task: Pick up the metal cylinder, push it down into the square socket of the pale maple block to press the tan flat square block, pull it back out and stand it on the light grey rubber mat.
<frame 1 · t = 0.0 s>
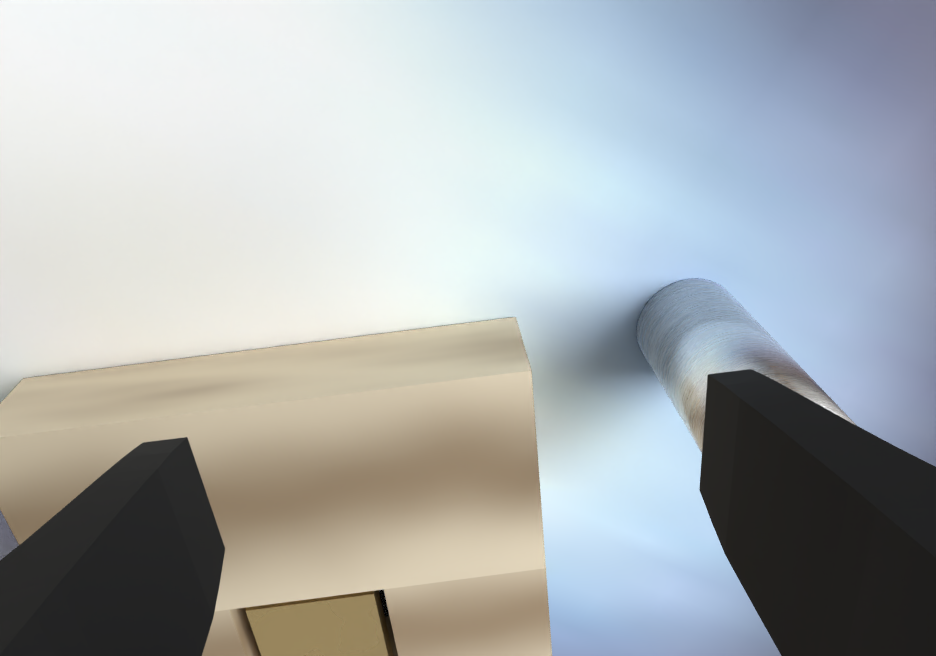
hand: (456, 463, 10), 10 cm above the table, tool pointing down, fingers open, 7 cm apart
socket block: (331, 576, 24), on the table
tan flat square block: (323, 635, 22), point 2 cm above the table, slide at 0.0 cm
metal cylinder: (687, 325, 21), on the table
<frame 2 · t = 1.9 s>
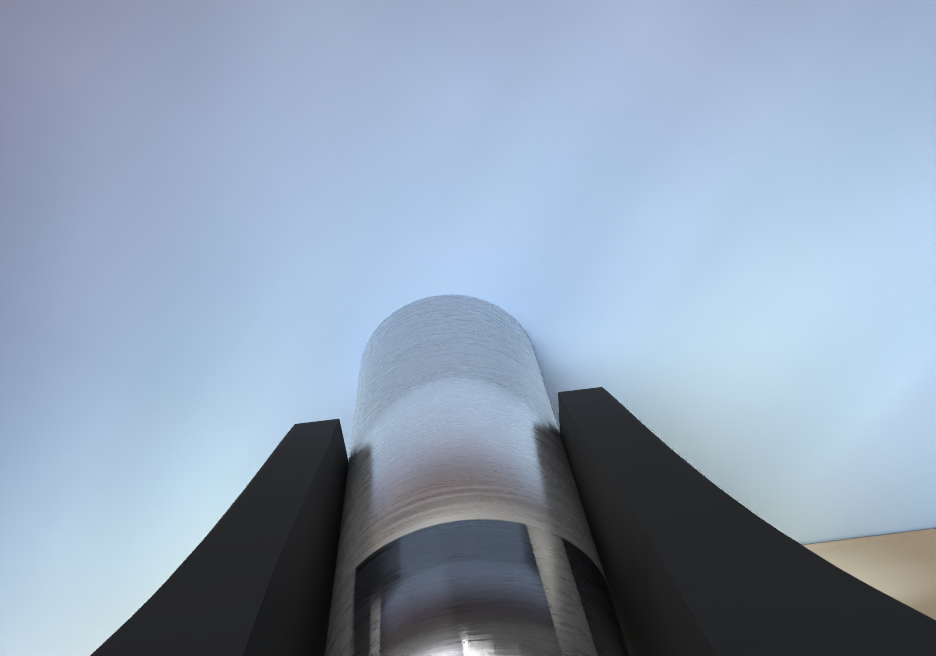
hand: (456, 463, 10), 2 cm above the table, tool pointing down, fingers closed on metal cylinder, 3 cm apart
metal cylinder: (448, 375, 12), on the table, touching gripper
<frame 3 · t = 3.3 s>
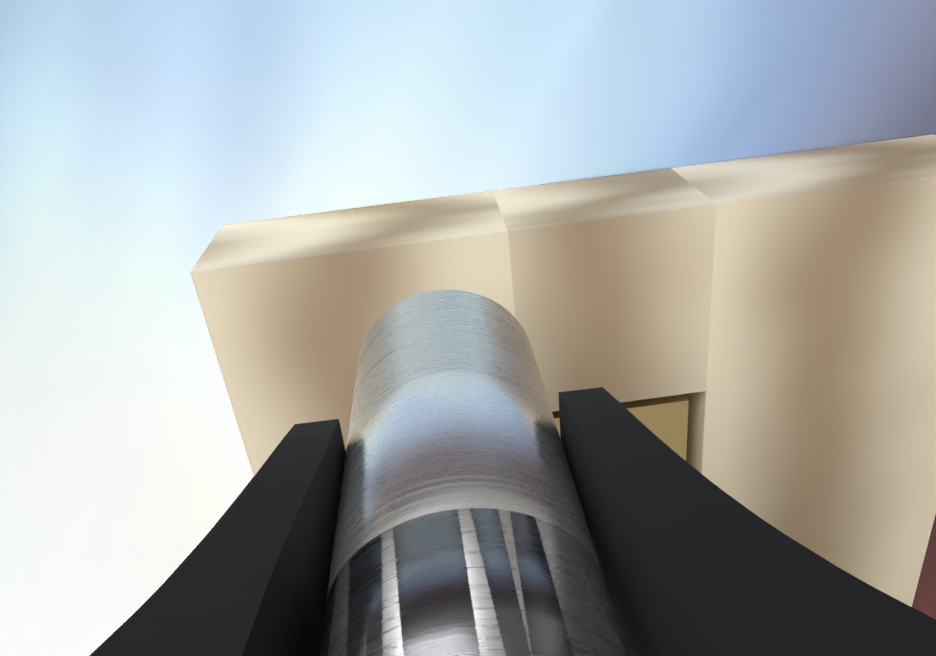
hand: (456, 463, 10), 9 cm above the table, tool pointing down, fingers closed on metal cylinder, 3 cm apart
socket block: (589, 410, 21), on the table
tan flat square block: (610, 461, 19), point 2 cm above the table, slide at 0.0 cm
metal cylinder: (446, 370, 12), point 7 cm above the table, touching gripper
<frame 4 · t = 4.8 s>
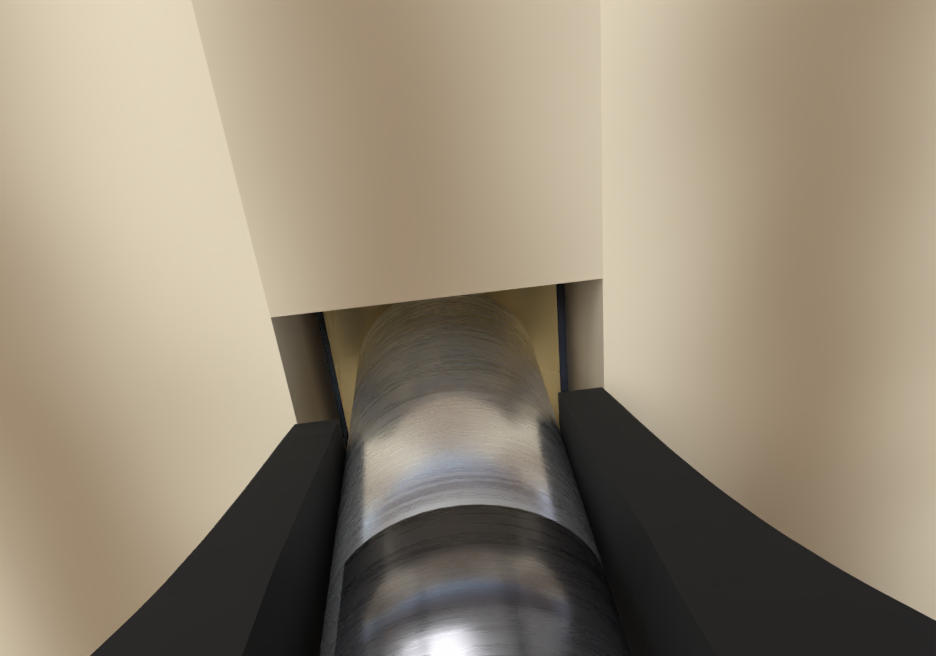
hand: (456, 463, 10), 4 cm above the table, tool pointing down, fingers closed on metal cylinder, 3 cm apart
socket block: (446, 339, 13), on the table
tan flat square block: (448, 361, 13), point 1 cm above the table, slide at 1.6 cm, touching metal cylinder
metal cylinder: (447, 368, 12), point 1 cm above the table, touching gripper, tan flat square block
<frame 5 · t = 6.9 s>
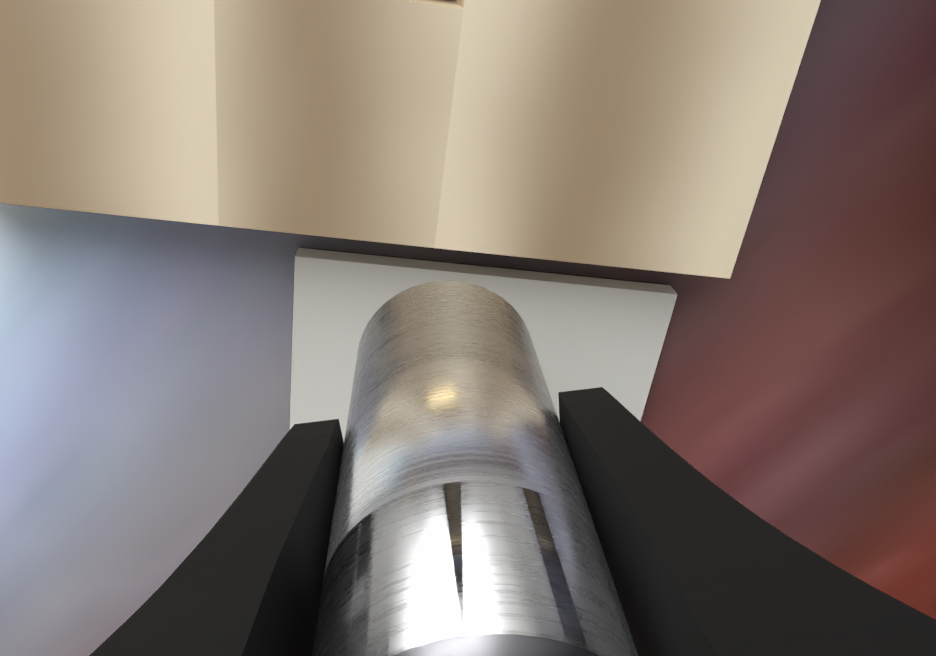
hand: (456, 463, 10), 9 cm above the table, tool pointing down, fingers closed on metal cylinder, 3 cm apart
mat: (472, 379, 21), on the table
metal cylinder: (446, 362, 12), point 7 cm above the table, touching gripper
when the fingers open (4 cm above the table, at t = 8.5 s): metal cylinder stays where it is, resting on mat.
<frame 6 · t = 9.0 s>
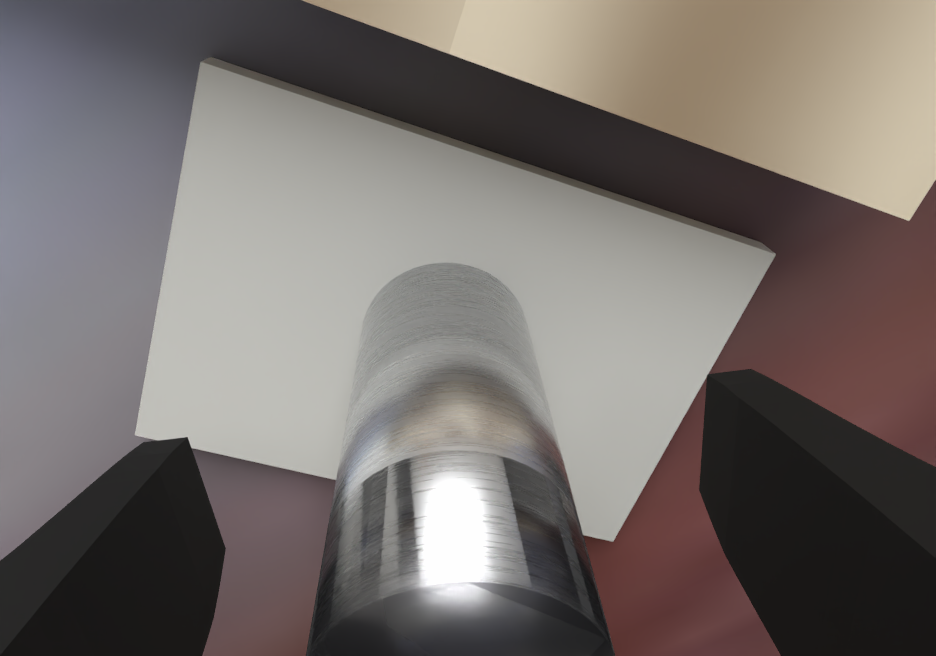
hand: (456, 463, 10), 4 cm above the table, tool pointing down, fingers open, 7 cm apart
mat: (444, 332, 14), on the table
metal cylinder: (445, 339, 13), point 1 cm above the table, touching mat
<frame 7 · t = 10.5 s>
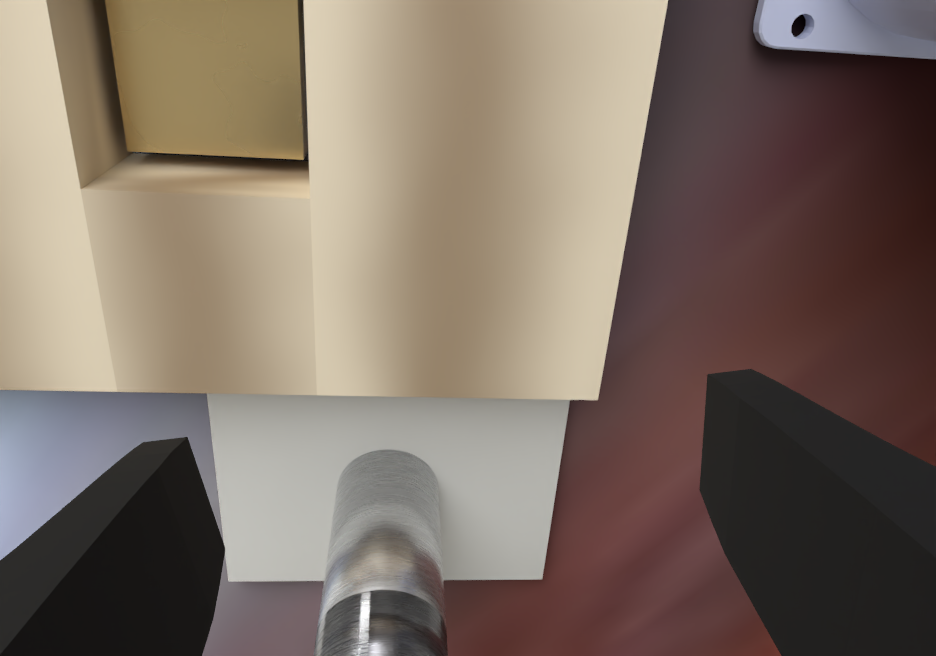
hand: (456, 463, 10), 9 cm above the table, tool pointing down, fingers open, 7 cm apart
socket block: (221, 58, 16), on the table
mat: (390, 481, 22), on the table
tan flat square block: (212, 62, 15), point 1 cm above the table, slide at 1.6 cm
metal cylinder: (387, 490, 21), point 1 cm above the table, touching mat
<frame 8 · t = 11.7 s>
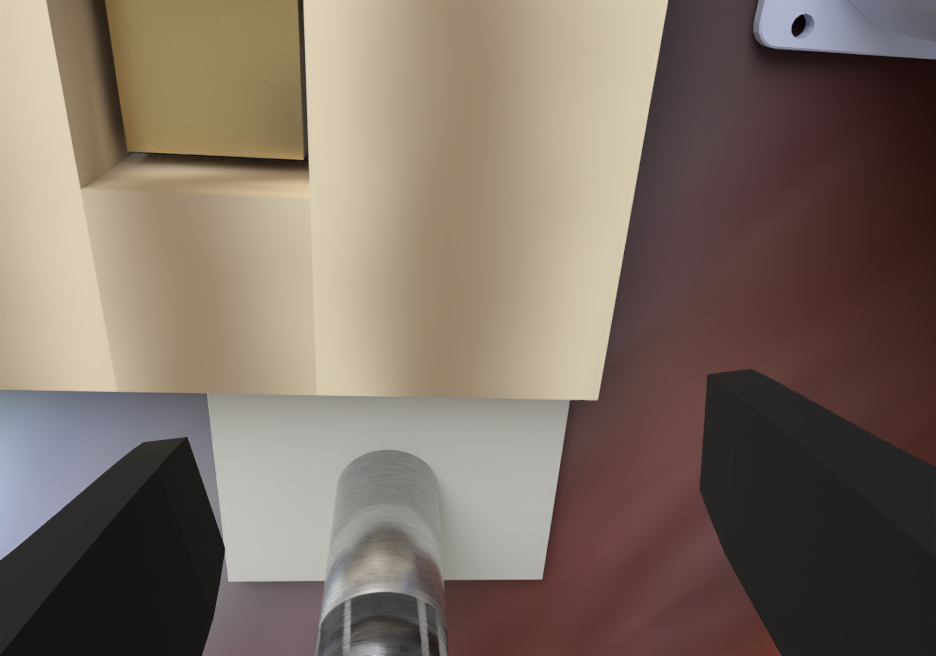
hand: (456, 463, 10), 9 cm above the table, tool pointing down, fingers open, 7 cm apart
socket block: (221, 58, 16), on the table
mat: (390, 481, 22), on the table
tan flat square block: (212, 62, 15), point 1 cm above the table, slide at 1.6 cm
metal cylinder: (387, 490, 21), point 1 cm above the table, touching mat
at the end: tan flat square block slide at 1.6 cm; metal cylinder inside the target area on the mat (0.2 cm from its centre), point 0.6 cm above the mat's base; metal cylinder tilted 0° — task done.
